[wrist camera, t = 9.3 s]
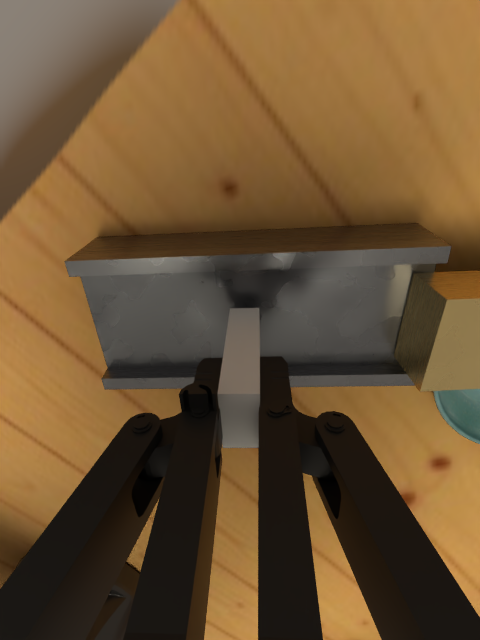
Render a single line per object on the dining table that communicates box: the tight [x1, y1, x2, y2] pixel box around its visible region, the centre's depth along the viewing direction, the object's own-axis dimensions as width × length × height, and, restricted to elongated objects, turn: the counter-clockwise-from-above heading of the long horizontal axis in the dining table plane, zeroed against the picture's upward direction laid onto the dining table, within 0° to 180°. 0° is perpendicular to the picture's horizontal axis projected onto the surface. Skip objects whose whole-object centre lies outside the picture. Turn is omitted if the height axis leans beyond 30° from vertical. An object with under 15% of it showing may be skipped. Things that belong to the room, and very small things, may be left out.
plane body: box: [65, 223, 451, 389], centre depth 20 cm, size 18×8×4 cm, turn 93°
